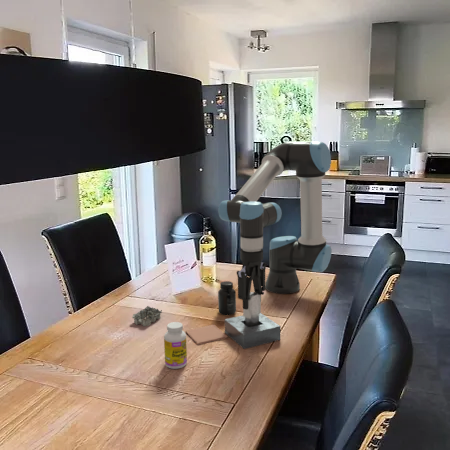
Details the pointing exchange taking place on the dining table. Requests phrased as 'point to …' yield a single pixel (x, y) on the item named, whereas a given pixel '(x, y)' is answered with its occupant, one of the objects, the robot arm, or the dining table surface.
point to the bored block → (252, 331)
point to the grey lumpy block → (151, 316)
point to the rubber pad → (206, 334)
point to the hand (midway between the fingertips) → (252, 314)
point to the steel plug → (253, 310)
